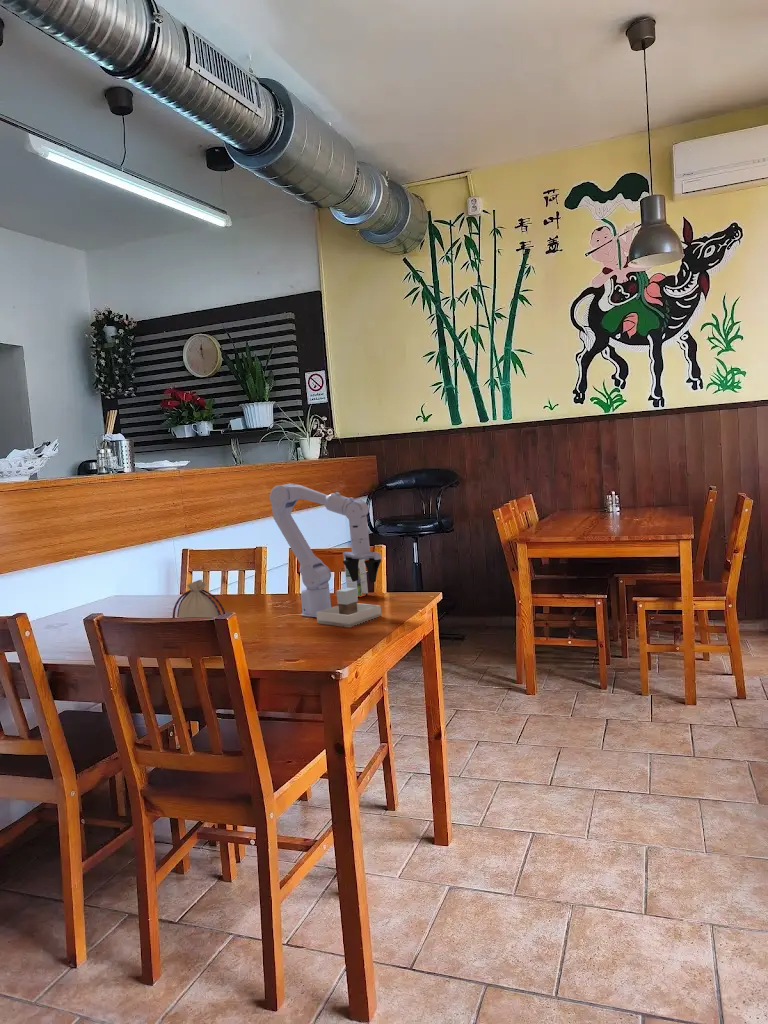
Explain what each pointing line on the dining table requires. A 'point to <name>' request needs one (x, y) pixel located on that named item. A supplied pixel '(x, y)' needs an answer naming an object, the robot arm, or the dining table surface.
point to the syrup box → (362, 578)
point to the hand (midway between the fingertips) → (363, 581)
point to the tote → (334, 618)
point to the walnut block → (348, 608)
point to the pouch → (197, 602)
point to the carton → (347, 596)
